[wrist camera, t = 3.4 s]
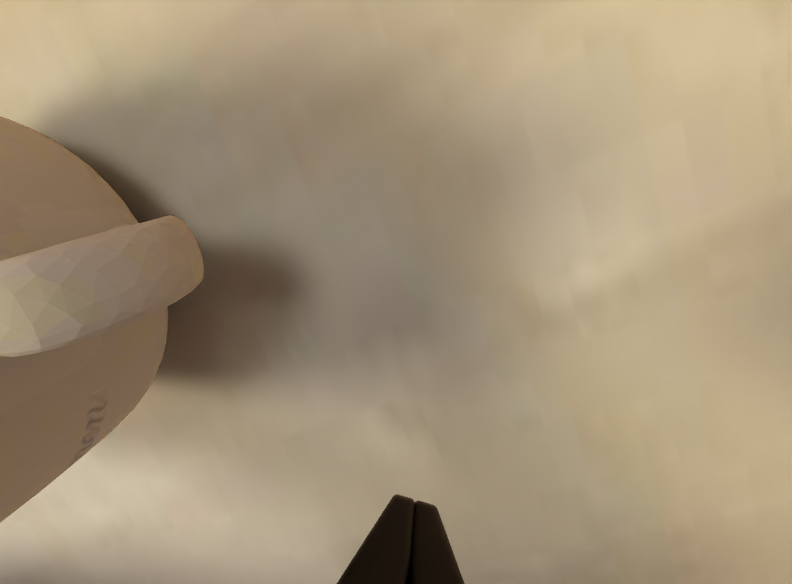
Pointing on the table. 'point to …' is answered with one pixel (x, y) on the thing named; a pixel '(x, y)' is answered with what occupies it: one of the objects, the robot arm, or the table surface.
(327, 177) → the table surface
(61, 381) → the teacup
